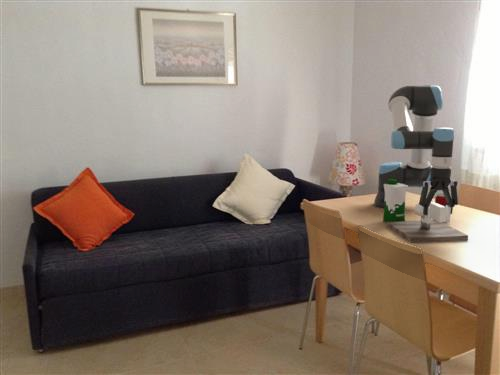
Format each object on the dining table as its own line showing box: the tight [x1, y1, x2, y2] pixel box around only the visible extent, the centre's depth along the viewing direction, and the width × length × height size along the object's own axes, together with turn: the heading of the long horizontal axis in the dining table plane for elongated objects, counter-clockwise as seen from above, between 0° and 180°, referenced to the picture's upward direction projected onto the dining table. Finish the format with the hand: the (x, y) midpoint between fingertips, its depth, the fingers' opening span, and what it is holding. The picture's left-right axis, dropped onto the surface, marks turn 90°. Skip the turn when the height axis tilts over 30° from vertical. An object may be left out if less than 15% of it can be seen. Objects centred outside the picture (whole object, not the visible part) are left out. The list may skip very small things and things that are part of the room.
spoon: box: [414, 200, 447, 223], centre depth 183 cm, size 18×9×6 cm, turn 6°
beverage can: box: [434, 193, 448, 207], centre depth 208 cm, size 7×7×12 cm
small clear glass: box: [420, 216, 432, 230], centre depth 188 cm, size 4×4×6 cm
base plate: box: [386, 219, 469, 244], centre depth 189 cm, size 24×24×2 cm
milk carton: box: [382, 179, 409, 223], centre depth 204 cm, size 9×9×20 cm
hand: (437, 222), depth 179 cm, fingers open, 8 cm apart
